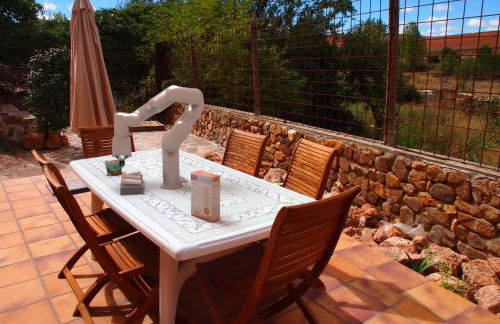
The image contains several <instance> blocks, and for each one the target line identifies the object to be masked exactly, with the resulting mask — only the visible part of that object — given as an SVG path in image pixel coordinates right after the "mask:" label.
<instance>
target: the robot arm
mask: <svg viewBox="0 0 500 324" xmlns="http://www.w3.org/2000/svg"><path fill="white" fill-rule="evenodd" d="M204 100H205V99H204V94H203V92H202V91H201V90H200V89H199V88H190V87H184V86H183V87H182V86H178V85H175V84H172V85H170V86H168V87H167V88H165V89H164V90H162V91H161V92H159V93H158V94H157V95H155V96H154V97H152V98H151V99H149V101H147V102H146V103H144V104H143V105H142V106H140V107H139V108H137V109H136V110H134V111H133V112H131V113H127V112H123V111H122V112H121V111H120V112H119V111H118V112H115V113H114V114H113V122H114V123H113V125H114V126H113V130H114V131H113V132H114V136H113V137H112V140H111V141H112V145H111V152H112V154H111V157H112V158H115V159H116V160H119V166H121V168H122V169H123V168H124V167H125V166H126V160H127V158H128V159H129V158H132V157H133V154H132V141H131V137H130V136H132V132H130V131H129V127H132V128H134V127H135V128H136V127H140V126H141V125H142V123H143V122H144V121H146V120H148V119H150V117H152V116H154V115H155V114H158V113H159V114H160V113H161V112H163V111H164V110H165V109H167V108H168V107H170V106H171V105H172V104H174V103H181V104H187V105H188V106H187V107H186V109H185V110H184V112H183V113H181V115H180V116H179V117H178V119H176V121H175V122H174V124H173V126H172V127H171V128H170V130H169V131H168V132H166V133H164V134H163V135H162V138H161V153H162V154H161V155H162V157H161V159H162V162H161V164H162V183H161V184H160V185H159V186H160V188H161V189H165V190H175V189H176V190H177V189H180V188H182V187H183V184H188V183H189V180H188V179H185V178H181V177H180V147H181V145H182V144H183V143H184V142H185V141H186V139H187V138H188V137H189V135H190V134H191V132H192V127H193V126H194V125H195V123H196V122H197V121H198V119H199V118H200V117H201V116H202V113H203V111H204V107H205V106H204V105H205V101H204ZM122 156H123V157H122ZM121 158H122V159H121Z"/></svg>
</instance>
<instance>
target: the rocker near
mask: <svg viewBox="0 0 500 324" xmlns="http://www.w3.org/2000/svg"><path fill="white" fill-rule="evenodd" d="M122 183H129V184H141V180H133V179H122Z"/></svg>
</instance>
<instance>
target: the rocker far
mask: <svg viewBox="0 0 500 324" xmlns="http://www.w3.org/2000/svg"><path fill="white" fill-rule="evenodd" d="M140 174H142V172H141V170H140V169H139V170H134V171H128V172H123V173H122V175H140Z"/></svg>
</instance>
